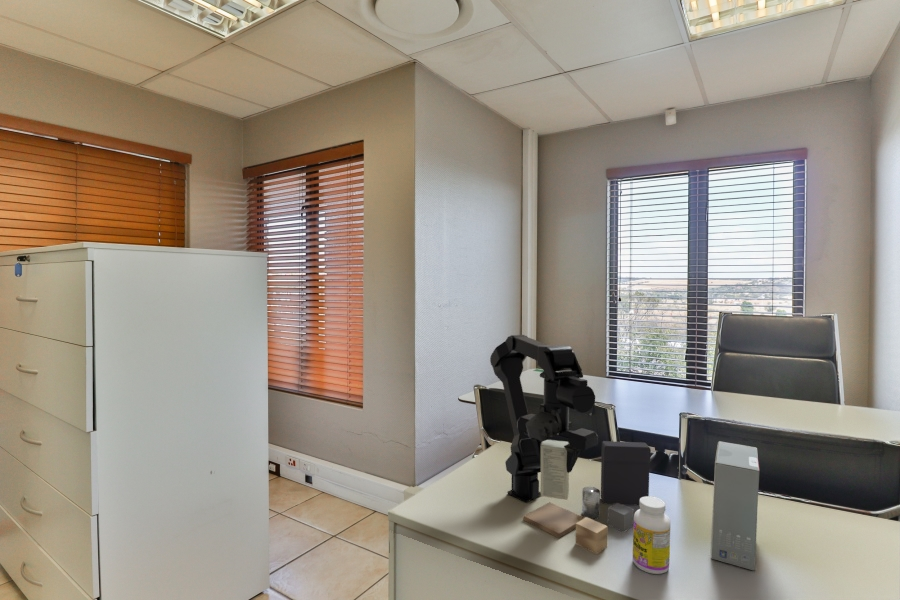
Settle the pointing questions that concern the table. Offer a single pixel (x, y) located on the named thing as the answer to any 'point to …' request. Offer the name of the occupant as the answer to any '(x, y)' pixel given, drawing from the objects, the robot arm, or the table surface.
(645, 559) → the supplement bottle
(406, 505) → the table surface
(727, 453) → the hard drive box
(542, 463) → the skincare box
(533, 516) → the walnut board
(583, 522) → the oak block
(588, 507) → the metal canister
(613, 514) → the gray cube
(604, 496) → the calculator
